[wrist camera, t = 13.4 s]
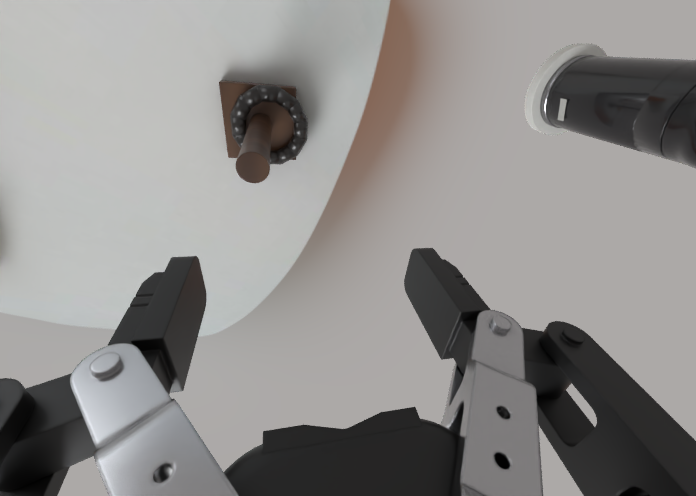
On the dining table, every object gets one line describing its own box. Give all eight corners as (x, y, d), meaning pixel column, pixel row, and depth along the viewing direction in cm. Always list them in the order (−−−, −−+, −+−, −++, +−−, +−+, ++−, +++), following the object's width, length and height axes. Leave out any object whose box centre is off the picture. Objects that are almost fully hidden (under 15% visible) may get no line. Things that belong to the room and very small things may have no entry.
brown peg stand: (295, 86, 34) (308, 113, 21) (295, 156, 38) (306, 215, 25) (220, 80, 32) (182, 105, 19) (229, 154, 37) (203, 216, 23)
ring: (307, 88, 33) (309, 90, 32) (306, 162, 38) (307, 167, 36) (227, 81, 31) (225, 82, 30) (235, 160, 36) (234, 164, 35)
